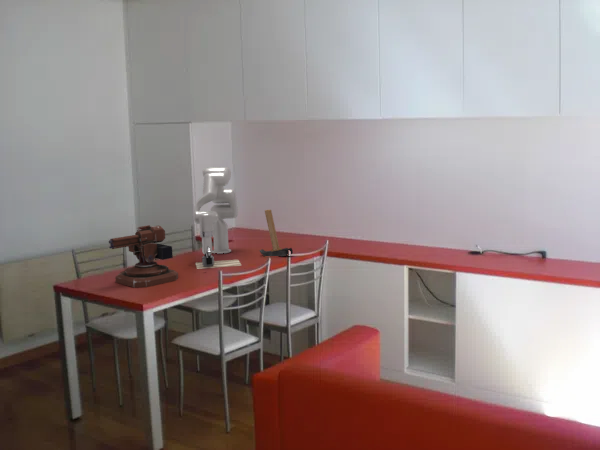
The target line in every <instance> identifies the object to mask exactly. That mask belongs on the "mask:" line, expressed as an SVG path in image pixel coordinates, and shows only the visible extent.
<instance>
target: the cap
mask: <svg viewBox="0 0 600 450" xmlns="http://www.w3.org/2000/svg"><path fill="white" fill-rule="evenodd" d="M211 257H212V264H210V265H214V261H215V257H214V255H212V254H211ZM206 258H207V256H204V255H203V256H202V257H201V262H202V265H204V266H210V265H207V264H206Z"/></svg>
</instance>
